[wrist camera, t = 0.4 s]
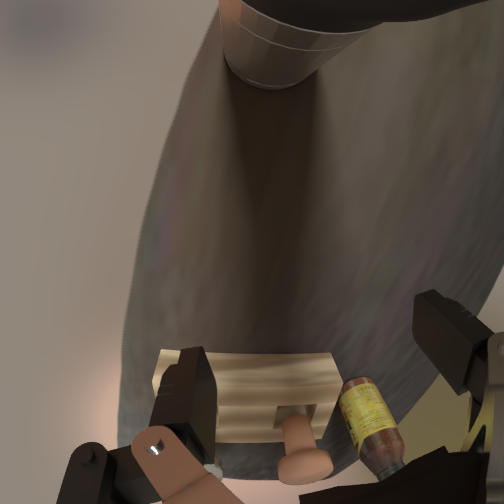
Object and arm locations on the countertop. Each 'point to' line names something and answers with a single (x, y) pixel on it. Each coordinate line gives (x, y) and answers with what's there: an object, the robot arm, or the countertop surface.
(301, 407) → the beech block
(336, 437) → the countertop surface
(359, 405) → the sauce bottle
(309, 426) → the terracotta peg
